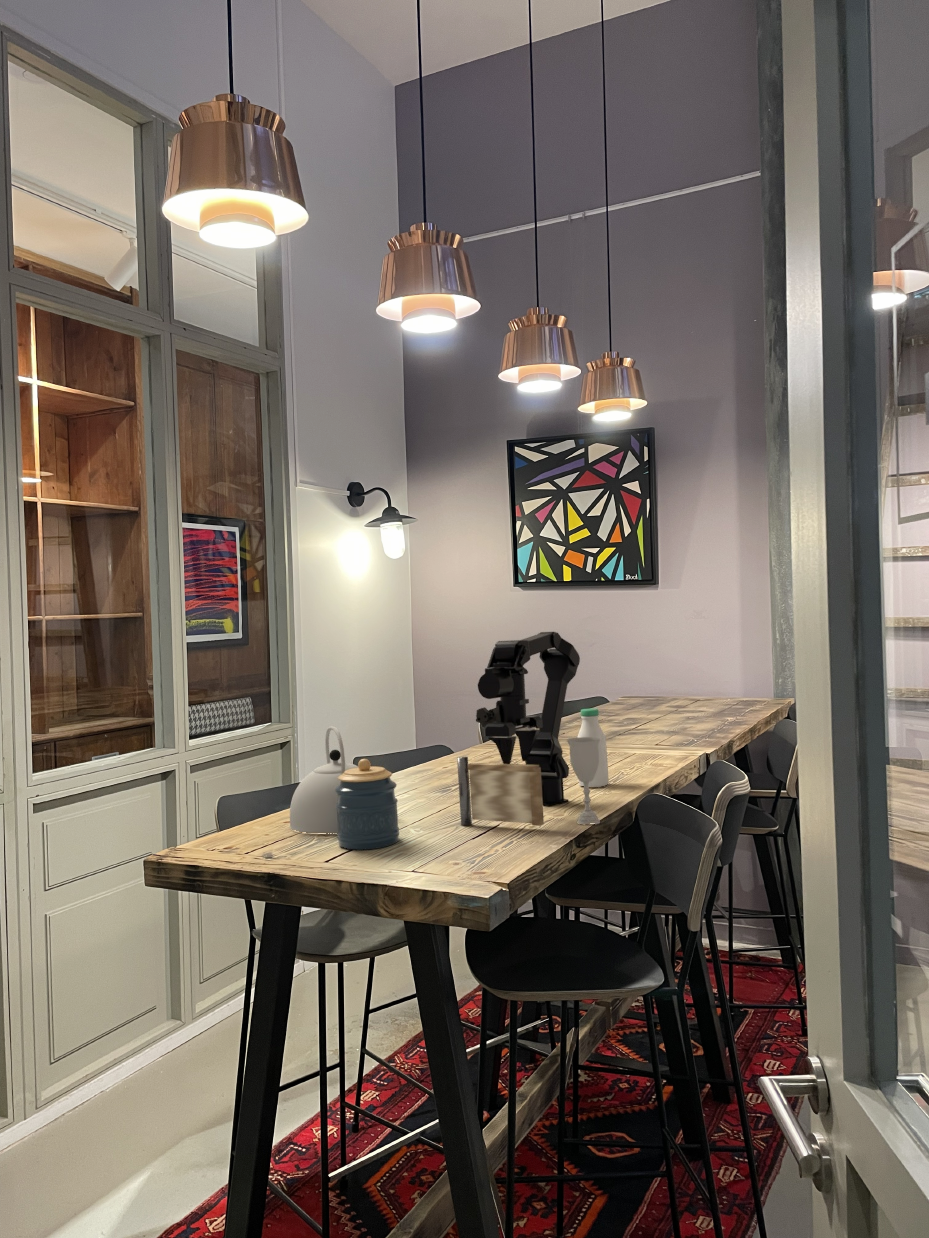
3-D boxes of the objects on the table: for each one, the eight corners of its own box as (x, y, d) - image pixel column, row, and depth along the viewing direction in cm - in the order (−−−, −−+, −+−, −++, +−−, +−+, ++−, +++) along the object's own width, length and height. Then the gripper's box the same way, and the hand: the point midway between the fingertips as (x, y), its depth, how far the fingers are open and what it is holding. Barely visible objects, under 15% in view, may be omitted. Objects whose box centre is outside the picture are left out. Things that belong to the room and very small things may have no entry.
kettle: (281, 818, 222) (275, 725, 221) (372, 806, 229) (366, 717, 229) (299, 840, 198) (292, 736, 198) (399, 826, 206) (393, 726, 206)
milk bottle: (613, 783, 239) (609, 707, 239) (601, 789, 233) (596, 711, 233) (586, 782, 244) (582, 707, 244) (574, 787, 237) (569, 710, 237)
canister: (347, 854, 183) (342, 766, 183) (330, 841, 195) (325, 758, 195) (408, 844, 188) (403, 759, 188) (388, 832, 200) (383, 751, 200)
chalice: (608, 818, 200) (603, 737, 200) (602, 826, 193) (597, 741, 193) (575, 818, 202) (570, 737, 202) (568, 825, 196) (563, 742, 196)
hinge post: (467, 823, 204) (463, 756, 204) (474, 824, 202) (469, 757, 202) (458, 824, 203) (454, 757, 203) (465, 826, 201) (461, 758, 201)
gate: (471, 820, 201) (467, 764, 201) (475, 818, 202) (472, 762, 202) (539, 825, 192) (536, 766, 192) (543, 823, 194) (540, 764, 194)
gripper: (499, 692, 220) (502, 757, 220) (461, 699, 204) (465, 769, 204) (542, 692, 215) (545, 758, 214) (506, 698, 198) (509, 770, 198)
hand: (515, 763), depth 208 cm, fingers open, 9 cm apart
